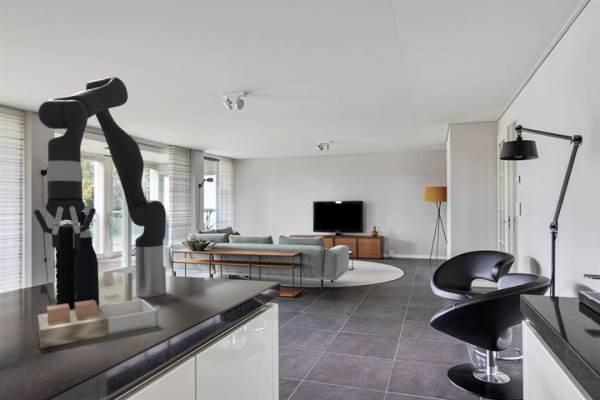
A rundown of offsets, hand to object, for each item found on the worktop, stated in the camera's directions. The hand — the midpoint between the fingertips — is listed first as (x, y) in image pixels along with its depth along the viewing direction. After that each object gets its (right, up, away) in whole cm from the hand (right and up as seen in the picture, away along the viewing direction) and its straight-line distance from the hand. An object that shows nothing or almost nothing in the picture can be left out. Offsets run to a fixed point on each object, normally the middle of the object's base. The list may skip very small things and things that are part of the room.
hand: (66, 248), depth 99 cm
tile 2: (+4, -17, +2) cm, 18 cm away
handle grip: (-15, -22, +27) cm, 38 cm away
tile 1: (-1, -17, -1) cm, 17 cm away
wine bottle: (-6, -22, +21) cm, 31 cm away
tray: (+12, -21, +8) cm, 25 cm away
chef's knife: (+15, -22, +19) cm, 33 cm away
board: (+1, -21, 0) cm, 21 cm away
